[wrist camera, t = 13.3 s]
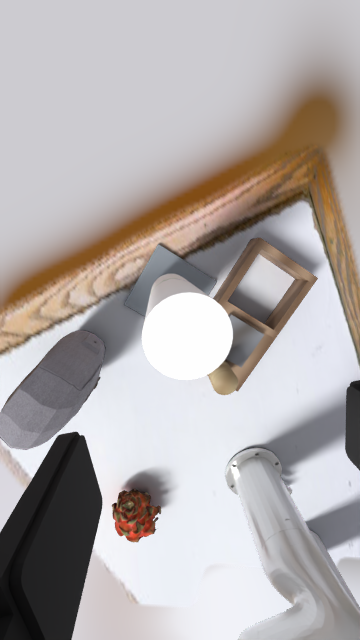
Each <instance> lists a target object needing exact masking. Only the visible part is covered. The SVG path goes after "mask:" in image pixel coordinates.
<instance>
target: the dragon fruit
mask: <svg viewBox="0 0 360 640" xmlns="http://www.w3.org/2000/svg"><path fill="white" fill-rule="evenodd" d="M150 498H151V497H150V495H148V493H147V492H145V493H143V494H141V493H140V492H139V491H137V490H136V489H133V490H131V491H130V492H127V491H125V490H124V491H122V492H120V493H119V496H118V502H117V503H114V504H113V505H112V507H113V519H114V520H115V521H116V522H115V528H116V531H117V533H118V535H119V536H123V535H125V536H126V538H127V540H129V541H131V542H138V541H139V539H140V538H142V537H143V536H144V537H147V536H149V535H151V534H154V532H155V530H156V529H155V522H156V521H157V520H158V517H157V518H156V519H155V520H154V521H153V519H154V518H155V516H156V515H157V514H158V513H159V514H161V507H160V506H157V507H154V506H151V505H149V502H150Z"/></svg>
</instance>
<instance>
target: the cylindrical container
mask: <svg viewBox="0 0 360 640" xmlns="http://www.w3.org/2000/svg"><path fill="white" fill-rule="evenodd" d="M232 340H233V329H232V324H231V321H230V319H229V316H228V314H227V313H226V311H225V310H224V309H223V307H222V306H221V305H220V304H219V303H217V302H216V301H215V300H214V299H212V298H211V297H210V296H208V295H207V294H205V293H204V292H203V291H201V290H200V289H198V288H197V287H196V286H194V285H193V284H191V283H190V282H189V281H187V280H186V279H185V278H183V277H182V276H180V275H177V274H172V273H171V274H165V275H162V276H160V277H159V278H158V279H157V280H156V281H155V282H154V284H153V286H152V289H151V293H150V297H149V302H148V307H147V311H146V316H145V321H144V325H143V331H142V344H143V349H144V352H145V355H146V357H147V358H148V360H149V362H150V363H151V364H152V365H153V366H154V367H155V368H156V369H157V370H158V371H160V372H161V373H162V374H164V375H166V376H169V377H171V378H175V379H181V380H190V379H197V378H200V377H203V376H205V375H207V374H209V373H211V372H213V371H214V370H215V369H217V368H218V367H219V366H220V365H221V364H222V363H223V361H224V360H225V358H226V357H227V355H228V354H229V351H230V348H231V345H232Z"/></svg>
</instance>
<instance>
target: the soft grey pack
mask: <svg viewBox="0 0 360 640" xmlns="http://www.w3.org/2000/svg"><path fill="white" fill-rule="evenodd" d="M104 355H105V346H104V342H103V341H102V340H100V339H99V338H98V337H97V336H96V335H95V334H93V333H90V332H88V331H81V330H78V331H75V332H72V333H70V334H68V335H66V336H65V337H63V338H62V339H60V340H59V341H58V342H57V344H56V345H55V346H54V347H53V348H52V349H51V350H50V351H49V352H48V353H47V354H46V355H45V357H44V358H43V359H42V360H41V361H40V363H39V364H38V365H37V366H36V367H35V368H34V369H33V370H32V371H31V372H30V373H29V374H28V375H27V376H26V378H25V379H24V380H23V381H22V382H21V383H20V385H19V386H18V387H17V388H16V389H15V391H14V392H13V393H12V394H11V395H10V397H9V398H8V400H7V401H6V403H5V405H4V407H3V408H2V410H1V412H0V438H1V439H2V440H3V441H4V442H5V443H6V444H7V445H8V446H9V447H10V448H16V449H23V450H27V449H30V448H33V447H36V446H39V445H41V444H43V443H45V442H47V441H48V440H49V439H51V438H52V437H53V436H54V435H55V434H56V433H57V432H58V431H60V430H61V429H62V428H63V427H64V426H65V425H66V424H67V423H68V422H69V421H70V419H71V418H72V417H74V416H75V415H76V414H77V413H78V411H79V410H80V408H81V407H82V405H83V403H84V402H85V401H86V400H87V399H88V397H89V395H90V394H91V392H92V391H93V389H95V388H96V386H97V384H98V381H99V379H100V377H99V374H100V370H101V366H102V363H103V359H104Z"/></svg>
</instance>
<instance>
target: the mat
mask: <svg viewBox="0 0 360 640" xmlns="http://www.w3.org/2000/svg"><path fill="white" fill-rule="evenodd" d="M171 273H172V274H177V275H180V276H182V277H183V278H185V279H186V280H187V281H189V282H190V283H191V284H193V285H194V286H196V287H197V288H198V289H200V290H201V291H203V292H204V293H205V294H207V295H209V293H210V292H211V290H212V288H213V287H214V285H215V284H216V282H217V281H216V280H214V279H213V278H211V277H209V276H208V275H206V274H205V273H203V272H201V271H200V270H198V269H197V268H195V267H194V266H192V265H190V264H189V263H187V262H186V261H184V260H183V259H181V258H179V257H178V256H176V255H175V254H173V253H172V252H170V251H168V250H167V249H165V248H164V247H162V246H160V245H159V244H158V246H157V247H156V249H155V251H154V253H153V254H152V256H151V258H150V260H149V261H148V263H147V265H146V267H145V268H144V270H143V272H142V274H141V275H140V277H139V279H138V281H137V282H136V284H135V286H134V288H133V289H132V291H131V293H130V295H129V296H128V298H127V300H126V302H125V304H124V305H125V306H127V307H129V308H130V309H132V310H134V311H136V312H138V313H139V314H141V315H143V316H146V311H147V307H148V302H149V297H150V293H151V289H152V286H153V284H154V282H155V281H156V280H157V279H158V278H159V277H160V276H162V275H165V274H171Z"/></svg>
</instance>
